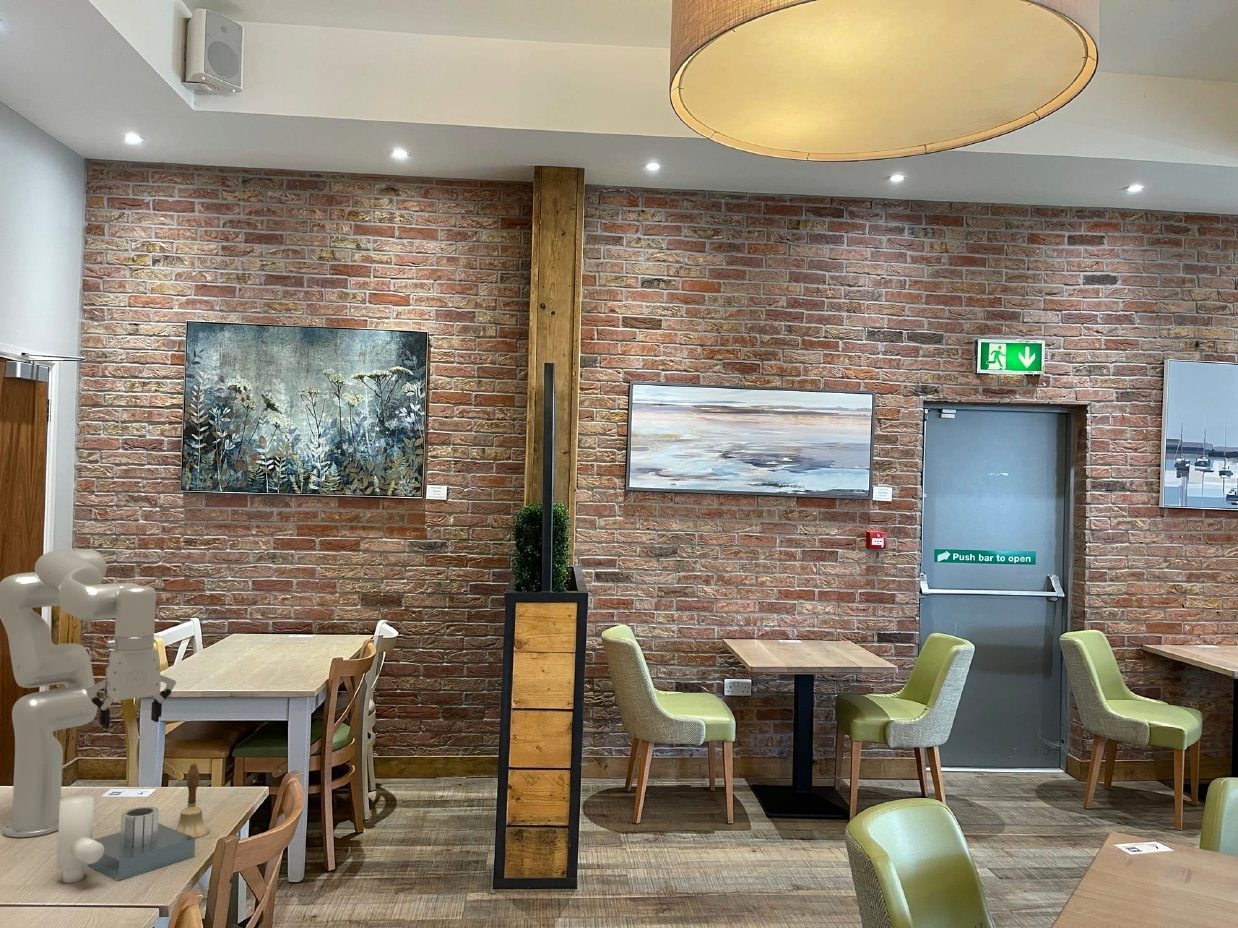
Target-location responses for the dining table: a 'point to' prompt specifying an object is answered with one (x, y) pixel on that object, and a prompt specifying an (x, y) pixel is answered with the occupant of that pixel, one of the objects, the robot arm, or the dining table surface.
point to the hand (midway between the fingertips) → (130, 724)
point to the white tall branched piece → (76, 837)
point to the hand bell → (192, 809)
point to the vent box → (142, 845)
